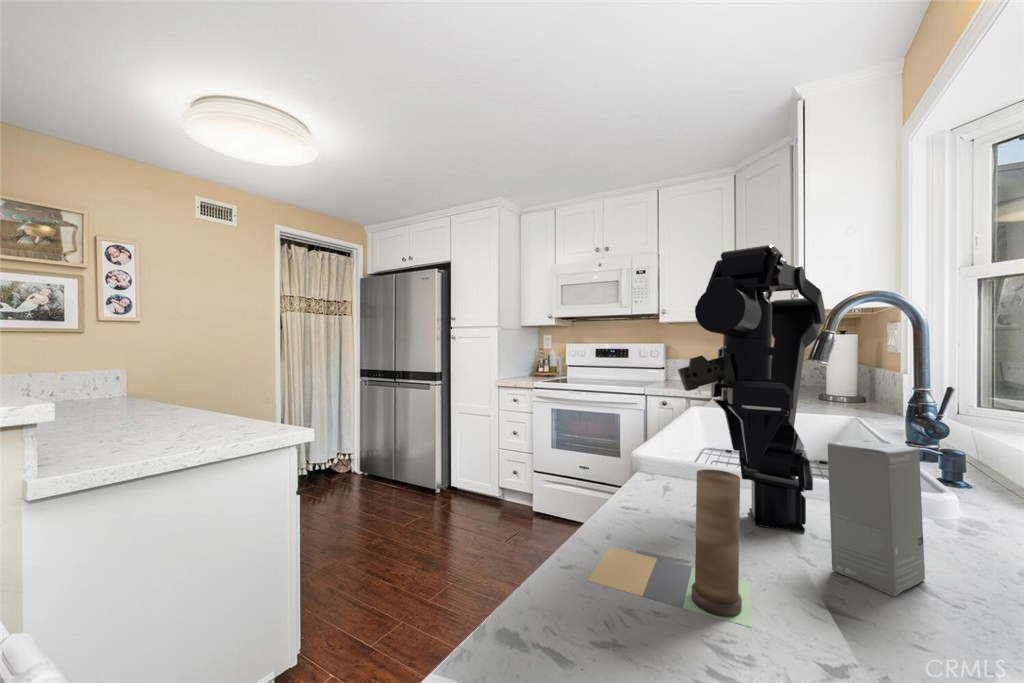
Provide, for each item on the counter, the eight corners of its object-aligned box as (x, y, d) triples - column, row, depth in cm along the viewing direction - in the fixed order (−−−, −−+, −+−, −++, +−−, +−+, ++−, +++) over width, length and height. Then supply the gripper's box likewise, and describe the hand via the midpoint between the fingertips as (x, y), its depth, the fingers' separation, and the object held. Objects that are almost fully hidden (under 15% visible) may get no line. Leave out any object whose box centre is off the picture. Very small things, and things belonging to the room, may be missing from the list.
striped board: (587, 591, 47) (587, 580, 47) (609, 556, 55) (609, 546, 55) (751, 640, 39) (751, 627, 39) (750, 591, 47) (750, 580, 47)
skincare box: (895, 599, 46) (895, 454, 46) (822, 568, 52) (823, 441, 52) (929, 580, 50) (929, 446, 50) (857, 553, 56) (857, 435, 56)
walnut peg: (700, 614, 41) (702, 480, 41) (685, 588, 46) (687, 467, 46) (750, 618, 41) (752, 483, 41) (729, 591, 45) (731, 469, 45)
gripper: (678, 342, 68) (675, 439, 67) (688, 332, 50) (684, 464, 50) (755, 344, 65) (753, 447, 64) (796, 334, 47) (794, 476, 46)
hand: (744, 456), depth 56 cm, fingers open, 9 cm apart
